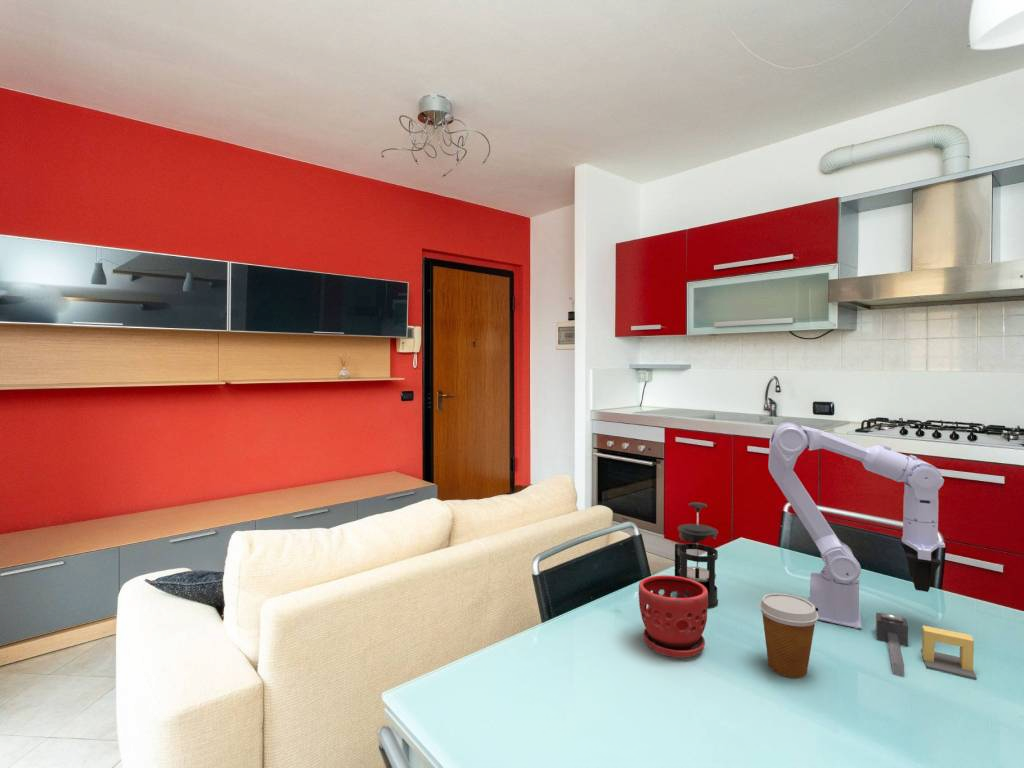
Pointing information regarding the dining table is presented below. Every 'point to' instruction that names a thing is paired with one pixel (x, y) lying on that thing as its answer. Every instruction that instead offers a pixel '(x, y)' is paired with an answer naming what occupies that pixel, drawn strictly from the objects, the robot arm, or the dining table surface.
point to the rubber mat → (949, 665)
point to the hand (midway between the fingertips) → (919, 583)
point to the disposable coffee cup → (788, 632)
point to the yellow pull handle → (949, 638)
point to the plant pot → (673, 615)
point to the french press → (701, 575)
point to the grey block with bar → (893, 638)
